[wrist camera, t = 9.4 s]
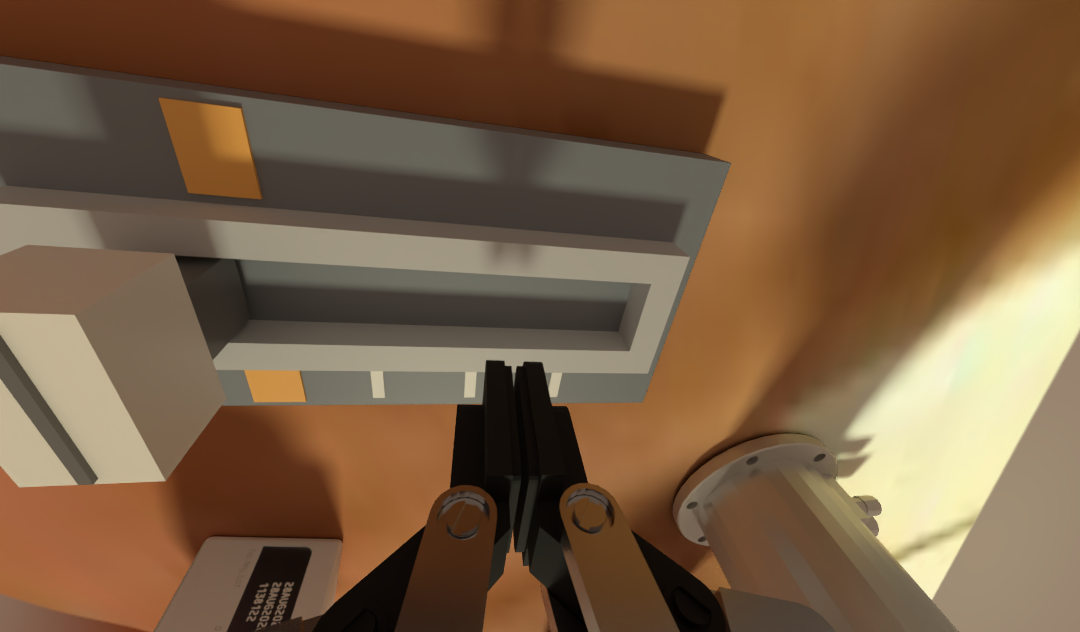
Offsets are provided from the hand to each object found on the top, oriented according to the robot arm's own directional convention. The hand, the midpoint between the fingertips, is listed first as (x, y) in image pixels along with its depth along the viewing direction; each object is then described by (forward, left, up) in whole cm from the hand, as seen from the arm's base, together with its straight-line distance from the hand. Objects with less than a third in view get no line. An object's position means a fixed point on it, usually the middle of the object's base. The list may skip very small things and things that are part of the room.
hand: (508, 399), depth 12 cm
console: (+4, -1, -7) cm, 8 cm away
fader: (+10, -1, -5) cm, 11 cm away
